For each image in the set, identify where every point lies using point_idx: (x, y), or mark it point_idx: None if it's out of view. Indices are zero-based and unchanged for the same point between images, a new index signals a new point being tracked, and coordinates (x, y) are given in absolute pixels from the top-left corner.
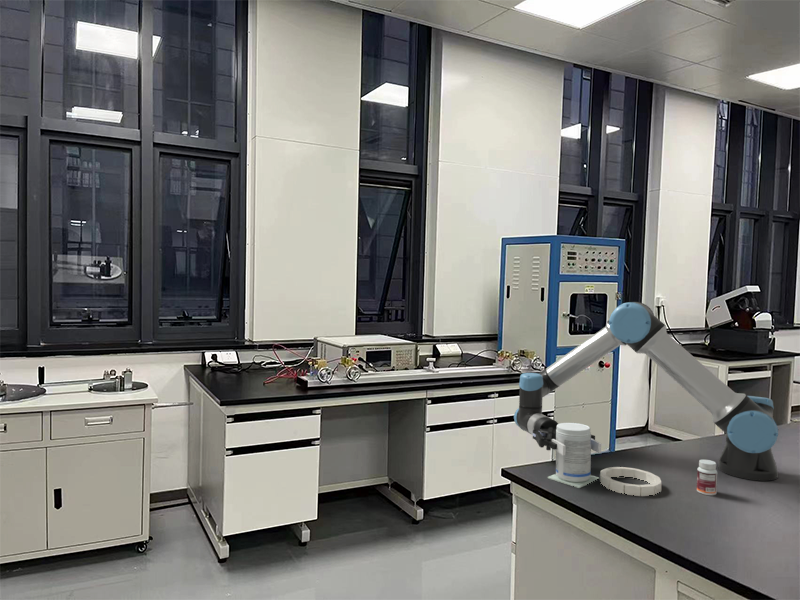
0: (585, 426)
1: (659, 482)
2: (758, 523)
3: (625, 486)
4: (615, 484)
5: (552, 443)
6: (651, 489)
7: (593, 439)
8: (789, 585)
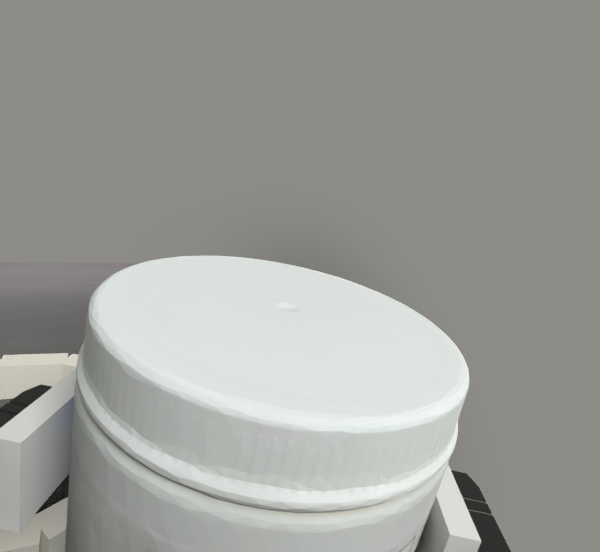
0: (172, 271)
1: (8, 357)
2: (68, 279)
3: None
4: None
5: (475, 496)
6: None
7: (63, 378)
8: None
